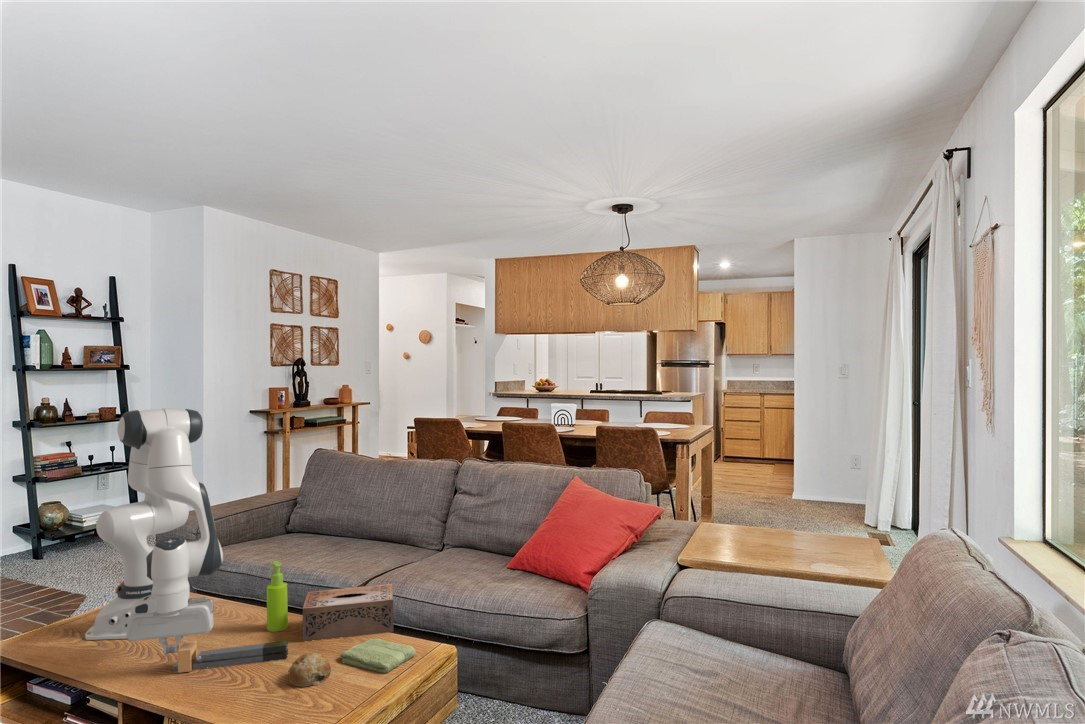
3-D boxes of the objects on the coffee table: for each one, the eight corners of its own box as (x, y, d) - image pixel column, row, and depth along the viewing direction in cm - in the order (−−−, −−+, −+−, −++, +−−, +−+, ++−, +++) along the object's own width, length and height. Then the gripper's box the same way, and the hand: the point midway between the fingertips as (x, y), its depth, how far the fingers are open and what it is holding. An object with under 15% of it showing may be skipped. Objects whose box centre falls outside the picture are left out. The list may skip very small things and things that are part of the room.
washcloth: (371, 644, 185) (371, 633, 185) (418, 657, 176) (418, 645, 176) (336, 663, 173) (336, 651, 173) (385, 677, 165) (385, 665, 165)
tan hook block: (178, 672, 167) (177, 651, 167) (184, 662, 173) (184, 641, 173) (190, 671, 168) (190, 649, 168) (197, 661, 174) (196, 640, 174)
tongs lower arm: (173, 672, 168) (173, 665, 168) (177, 666, 171) (177, 660, 171) (286, 659, 175) (286, 652, 175) (288, 653, 178) (287, 647, 178)
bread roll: (300, 704, 158) (309, 679, 157) (277, 677, 163) (285, 652, 161) (332, 687, 167) (341, 662, 165) (309, 662, 172) (317, 638, 170)
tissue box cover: (302, 642, 186) (302, 608, 186) (308, 623, 200) (308, 591, 200) (393, 632, 192) (393, 599, 192) (392, 614, 206) (392, 583, 206)
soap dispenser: (281, 621, 201) (281, 558, 201) (290, 627, 196) (290, 562, 196) (262, 627, 197) (262, 562, 197) (271, 633, 192) (271, 567, 192)
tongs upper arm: (195, 662, 169) (194, 656, 169) (198, 656, 173) (198, 651, 173) (286, 651, 175) (286, 645, 175) (288, 645, 178) (287, 640, 178)
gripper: (216, 592, 175) (217, 642, 175) (132, 600, 170) (133, 651, 170) (210, 600, 169) (210, 652, 169) (123, 608, 164) (124, 662, 164)
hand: (171, 652), depth 169 cm, fingers closed
